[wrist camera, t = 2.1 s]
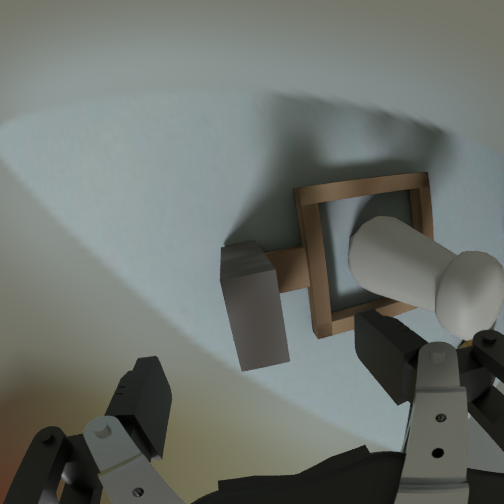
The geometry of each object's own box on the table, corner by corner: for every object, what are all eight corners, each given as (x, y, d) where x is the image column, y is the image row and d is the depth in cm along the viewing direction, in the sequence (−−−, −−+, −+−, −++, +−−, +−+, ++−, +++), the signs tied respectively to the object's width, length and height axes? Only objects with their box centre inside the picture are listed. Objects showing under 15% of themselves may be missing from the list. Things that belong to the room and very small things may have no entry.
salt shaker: (347, 204, 21) (476, 224, 8) (404, 223, 22) (528, 253, 9) (329, 277, 22) (430, 362, 9) (385, 288, 23) (492, 358, 10)
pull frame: (417, 172, 21) (485, 170, 13) (423, 296, 23) (480, 330, 15) (212, 203, 20) (204, 209, 12) (242, 346, 22) (253, 413, 14)
